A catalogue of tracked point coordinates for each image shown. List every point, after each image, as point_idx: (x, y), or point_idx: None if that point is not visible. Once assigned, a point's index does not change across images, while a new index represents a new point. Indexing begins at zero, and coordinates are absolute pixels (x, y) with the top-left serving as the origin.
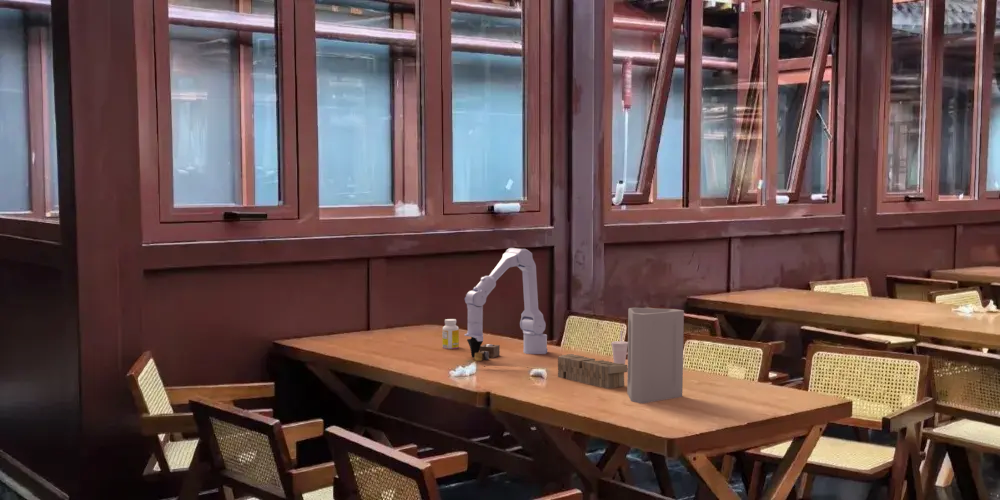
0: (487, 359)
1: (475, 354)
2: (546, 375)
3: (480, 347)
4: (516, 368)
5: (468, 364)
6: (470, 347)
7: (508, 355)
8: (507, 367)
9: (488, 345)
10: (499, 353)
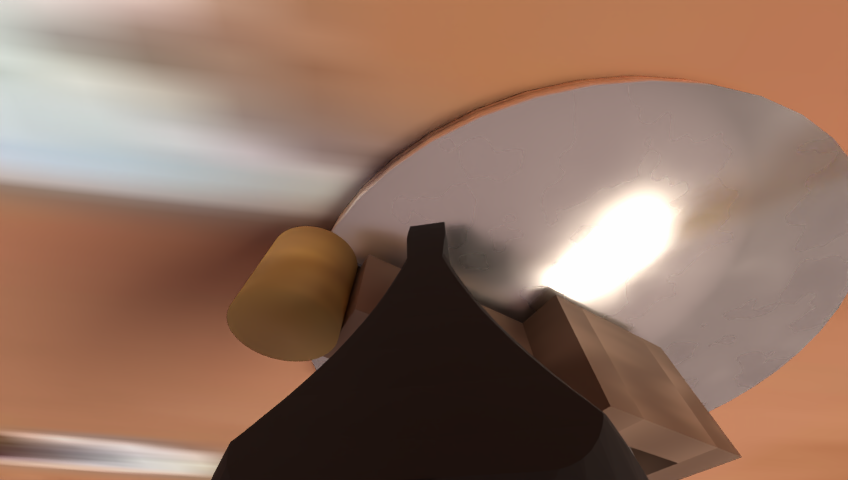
0: None
1: (248, 284)
2: (36, 466)
3: (590, 399)
4: (190, 411)
5: (303, 135)
6: (431, 305)
7: None
8: (211, 384)
9: None
10: None
